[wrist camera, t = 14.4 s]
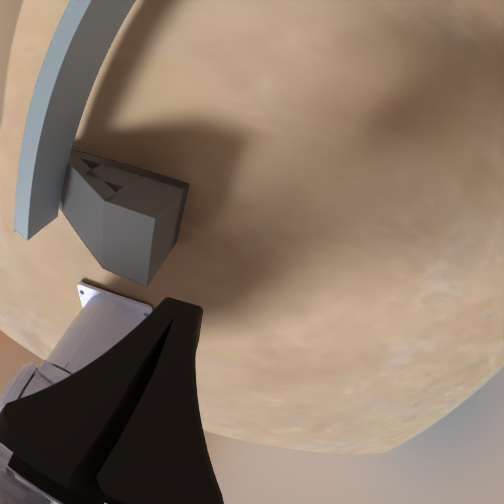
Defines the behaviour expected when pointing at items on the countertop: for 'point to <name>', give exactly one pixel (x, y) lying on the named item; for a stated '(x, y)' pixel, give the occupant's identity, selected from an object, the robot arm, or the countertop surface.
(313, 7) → the countertop surface
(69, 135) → the long pale blue beam
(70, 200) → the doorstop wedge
